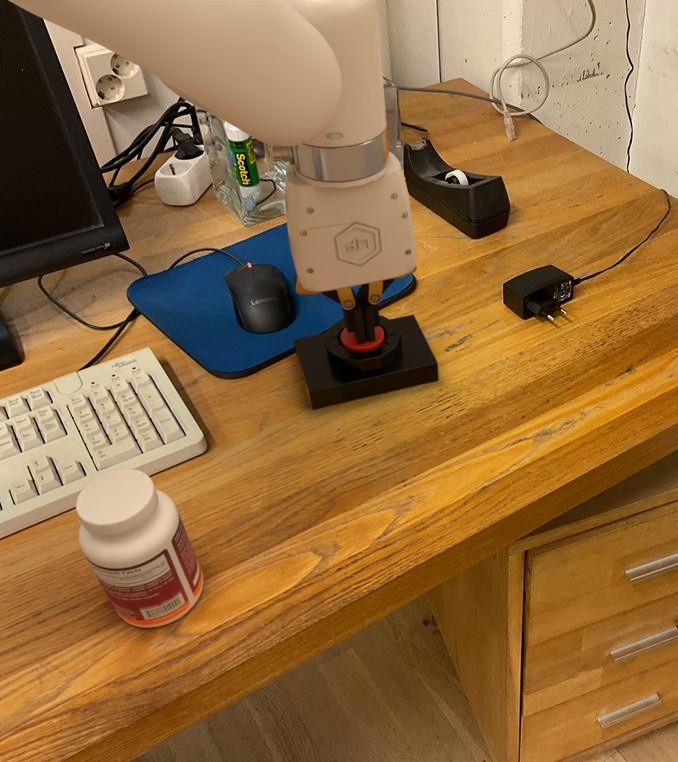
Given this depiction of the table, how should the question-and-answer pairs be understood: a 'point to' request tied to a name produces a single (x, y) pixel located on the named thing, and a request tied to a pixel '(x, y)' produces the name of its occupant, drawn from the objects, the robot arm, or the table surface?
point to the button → (352, 343)
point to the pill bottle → (138, 548)
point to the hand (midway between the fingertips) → (363, 333)
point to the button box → (364, 363)
